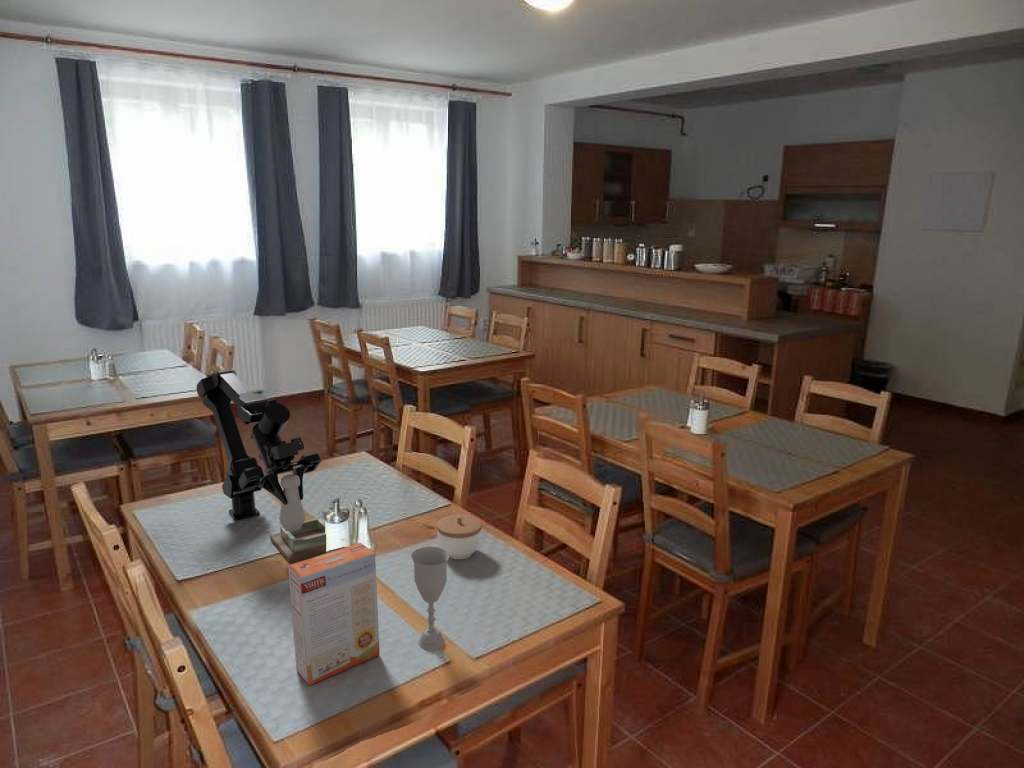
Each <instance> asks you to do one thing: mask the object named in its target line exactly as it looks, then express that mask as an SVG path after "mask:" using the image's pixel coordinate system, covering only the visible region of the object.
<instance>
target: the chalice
mask: <svg viewBox="0 0 1024 768" xmlns="http://www.w3.org/2000/svg"><path fill="white" fill-rule="evenodd" d="M410 556H411V560H412V561H413V570H414V571H413V572H414V573H413V574H414V576H413V580H414V582H415V586H416V588H417V590H418V592H419V594H420V596H421V598H422V600H423V601H424V602H425V603H427V604H428V607H427V609H426V612H427V614H428V616H427V618H426V621H427V622H428V626H427V627H426V628H424V629H423V630H422V632H421V633H420V636H419V638H418V641H417V643H418V644H417V645H418V646H419V647H420V648H421V649H422V650H426V649H428V651H431V650H432V649H434V650H438V649H439V648H441V647H443V645H445V642H446V640H445V638H444V636H443V634H442V632H441V630H440V629H439V628H438V627H436V626H434V624H435V621H436V620H437V618H436V617H435V616H434V614H435V612H436V608H435V607H434V604H435V603H436V602H438V601H439V598H440V597H441V595H442V593H443V591H444V589H445V587H446V583H447V580H448V579H447V578H448V572H447V563H448V560H450V557H449V553H448V552H447V551H446V550H444V549H441V547H436V546H424V547H420V548H417V549H416V550H413V552H412V553H411V555H410ZM432 651H433V650H432Z"/></svg>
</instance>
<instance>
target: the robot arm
mask: <svg viewBox="0 0 1024 768" xmlns="http://www.w3.org/2000/svg"><path fill="white" fill-rule="evenodd" d="M196 393H197V396H198V397H200V399H201V402H202V405H204V406H205V408H207V409H209V411H211V412H212V414H213V415H212V416H213V418H214V420H215V423H216V426H217V429H218V433H219V436H220V439H221V442H222V444H223V446H222V447H223V448H224V452H225V454H226V457H227V461H228V462H227V466H226V470H225V477H226V478H225V480H224V481H223V483H222V486H221V489H222V493H223V495H225V496H226V497H228V498H229V499H231V509H229V510H228V514H229V515H231V517H232V518H233V520H234V521H237V520H243V519H247V518H251V517H254V516H259V515H260V513H261V512H260V511H259V510H258V508H257V507H256V499H255V492H259V491H262V489H264V490H265V491H267V492H269V493H270V495H272V496H274V497H275V498H276V499H277V500H279V501H280V502H281V503H283V504H284V505H287V503H288V502H287V499H286V496H285V494H284V492H283V487H282V486H281V482H280V481H279V477H278V475H281V474H285V473H290V475H297V476H298V477H299V478H300V485H299V486H298V490H299V496H300V500H301V501H303V500H304V487H303V486H304V485H303V482H304V481H303V479H304V475H305V474H309V473H312V472H314V471H316V470H317V468H319V467H318V466H320V464H321V463H322V461H323V460H322V457H321V455H320V453H317V452H316V451H314V452H309V453H305V454H302V455H301V456H300V458H299V460H298V461H293V460H294V459H295V456H299V452H300V451H303V450H305V445H304V444H305V443H304V441H303V440H302V437H301V436H298V437H297V436H296V437H294V438H291V440H290V442H286V440H283V439H282V437H281V435H280V433H282V432H283V430H284V428H285V427H286V425H287V423H288V422H289V420H290V417H291V411H290V409H289V408H288V407H287V406H285V405H284V404H283V403H279V402H277V399H275V398H274V399H269V398H268V397H266V396H265V395H263V394H261V393H255V392H253V391H252V390H251V389H250V388H249V387H248V386H247V385H246V384H245V383H244V382H243V381H242V380H241V379H240V378H239V377H238V376H237V373H236V371H235V370H234V369H231V368H230V369H223V370H218V371H214V372H213V373H212V374H210V375H209V376H207V377H204V378H201V379H200V380H199V381H198V382H197V384H196ZM231 402H232V403H233V404H234V405H236V408H237V416H238V419H239V420H240V421H241V422H242V423H243V424H244V425H251V424H252V425H253V424H255V425H254V426H253V427H252V429H251V431H250V439H254V441H255V444H256V447H257V450H258V452H259V455H258V457H259V459H260V460H262V462H263V464H264V466H265V468H264V469H263V468H262V467H261V465H259V464H258V460H257V459H256V458H255V457H254V456H253V457H251V456H250V455H248V454H247V451H246V449H245V446H244V443H243V440H242V436H241V433H240V431H239V427H238V423H237V420H236V418H235V415H234V413H233V409H232V406H231ZM292 461H293V462H292Z"/></svg>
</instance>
